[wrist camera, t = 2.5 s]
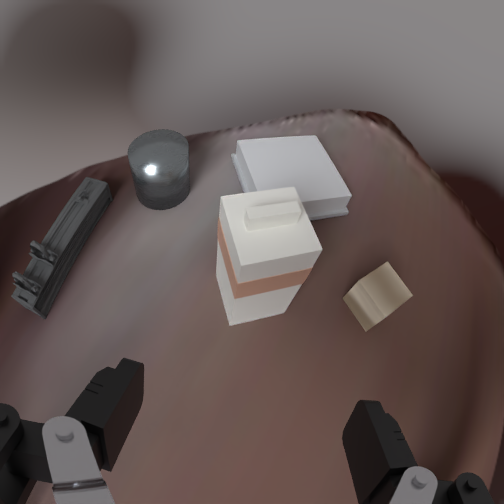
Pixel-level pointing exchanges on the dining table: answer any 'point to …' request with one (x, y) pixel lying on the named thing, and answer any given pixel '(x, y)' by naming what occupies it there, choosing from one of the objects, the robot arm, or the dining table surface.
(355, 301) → the block
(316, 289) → the dining table surface
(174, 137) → the tin
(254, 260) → the carton
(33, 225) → the dining table surface
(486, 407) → the dining table surface
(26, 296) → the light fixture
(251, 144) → the podium
